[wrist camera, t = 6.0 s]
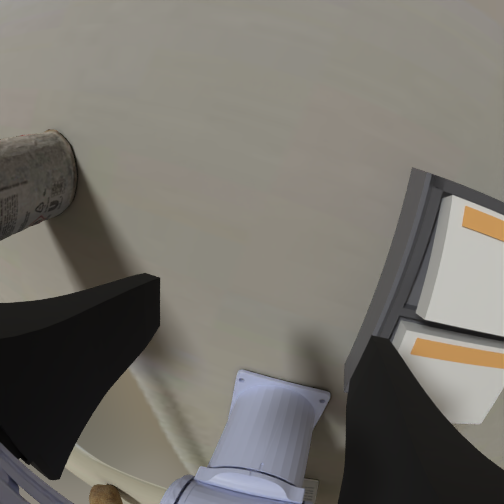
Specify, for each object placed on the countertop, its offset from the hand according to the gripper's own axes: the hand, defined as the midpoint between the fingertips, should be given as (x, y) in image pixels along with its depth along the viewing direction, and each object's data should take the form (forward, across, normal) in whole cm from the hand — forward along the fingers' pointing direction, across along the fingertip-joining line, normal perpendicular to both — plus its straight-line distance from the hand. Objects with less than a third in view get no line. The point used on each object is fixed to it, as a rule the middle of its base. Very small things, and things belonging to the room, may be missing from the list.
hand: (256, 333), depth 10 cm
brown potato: (+11, +27, +74) cm, 79 cm away
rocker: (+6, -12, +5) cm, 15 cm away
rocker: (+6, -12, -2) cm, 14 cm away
